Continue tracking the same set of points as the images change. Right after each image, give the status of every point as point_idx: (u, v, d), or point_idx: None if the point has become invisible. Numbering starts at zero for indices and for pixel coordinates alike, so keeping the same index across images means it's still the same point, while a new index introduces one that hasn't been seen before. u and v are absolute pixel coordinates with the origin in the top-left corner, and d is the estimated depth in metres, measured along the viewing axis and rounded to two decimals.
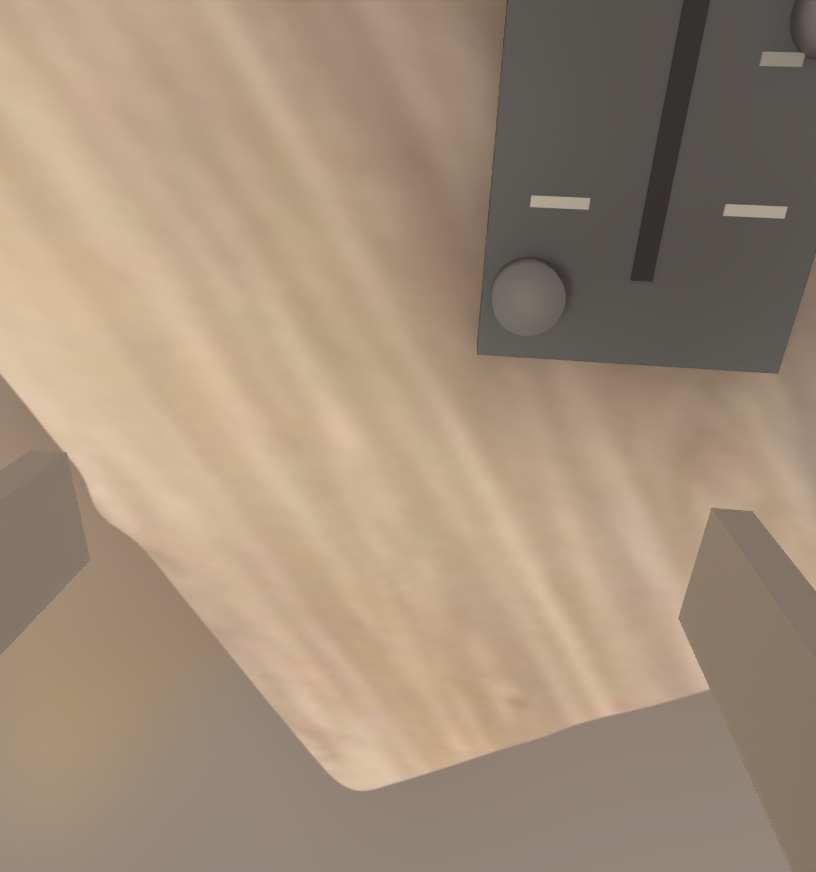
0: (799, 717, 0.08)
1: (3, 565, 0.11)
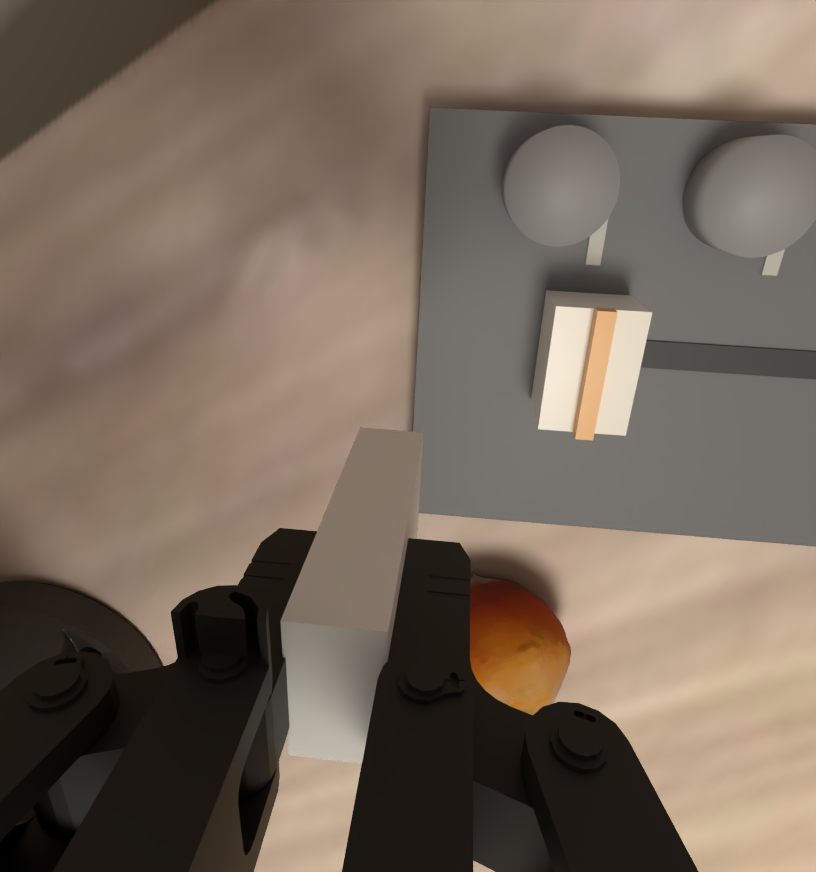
0: None
1: None
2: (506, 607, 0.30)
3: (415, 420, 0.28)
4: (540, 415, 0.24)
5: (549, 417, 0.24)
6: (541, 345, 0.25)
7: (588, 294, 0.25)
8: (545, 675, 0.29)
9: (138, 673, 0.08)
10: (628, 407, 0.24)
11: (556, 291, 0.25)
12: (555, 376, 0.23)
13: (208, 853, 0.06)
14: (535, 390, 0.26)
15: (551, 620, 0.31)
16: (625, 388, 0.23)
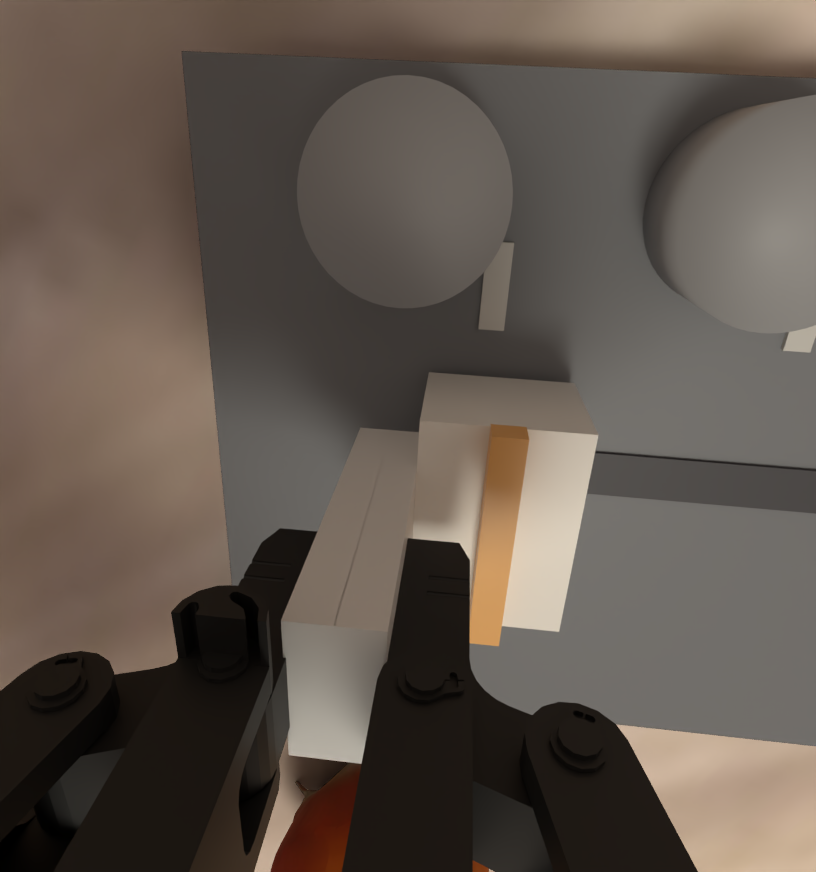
0: None
1: None
2: None
3: (232, 559, 0.18)
4: None
5: None
6: None
7: (498, 382, 0.14)
8: None
9: (138, 673, 0.08)
10: (561, 588, 0.13)
11: (444, 375, 0.14)
12: (429, 536, 0.13)
13: (208, 853, 0.06)
14: None
15: None
16: (554, 559, 0.13)
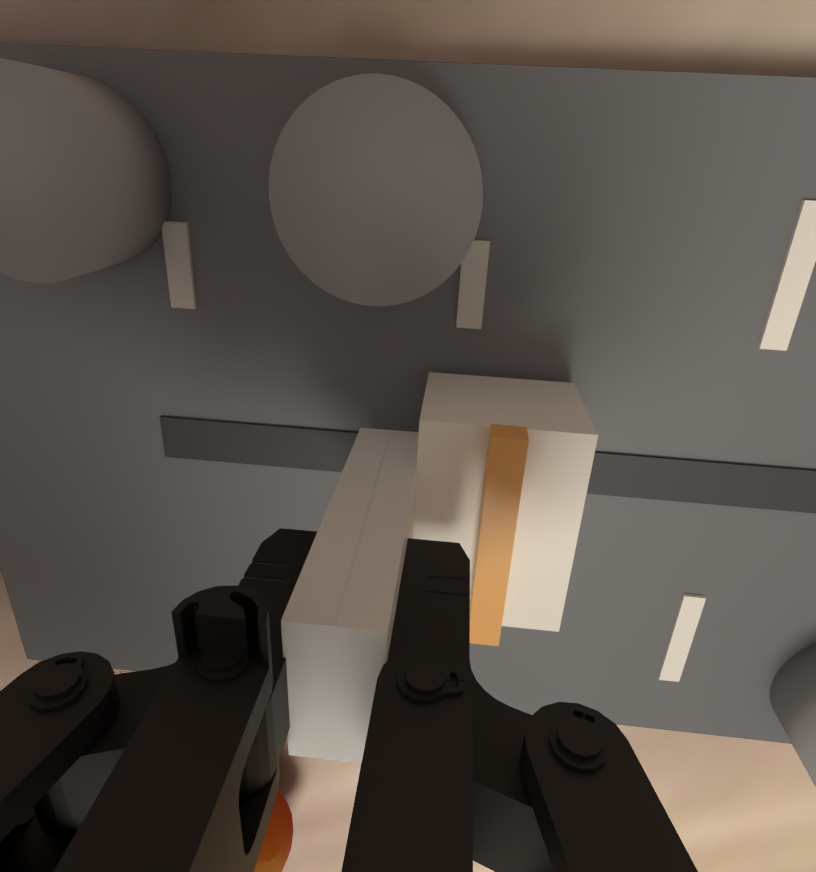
0: None
1: None
2: None
3: None
4: None
5: None
6: None
7: (498, 381, 0.14)
8: None
9: (139, 673, 0.08)
10: (561, 588, 0.13)
11: (444, 375, 0.14)
12: (429, 536, 0.13)
13: (208, 853, 0.06)
14: None
15: None
16: (554, 559, 0.13)
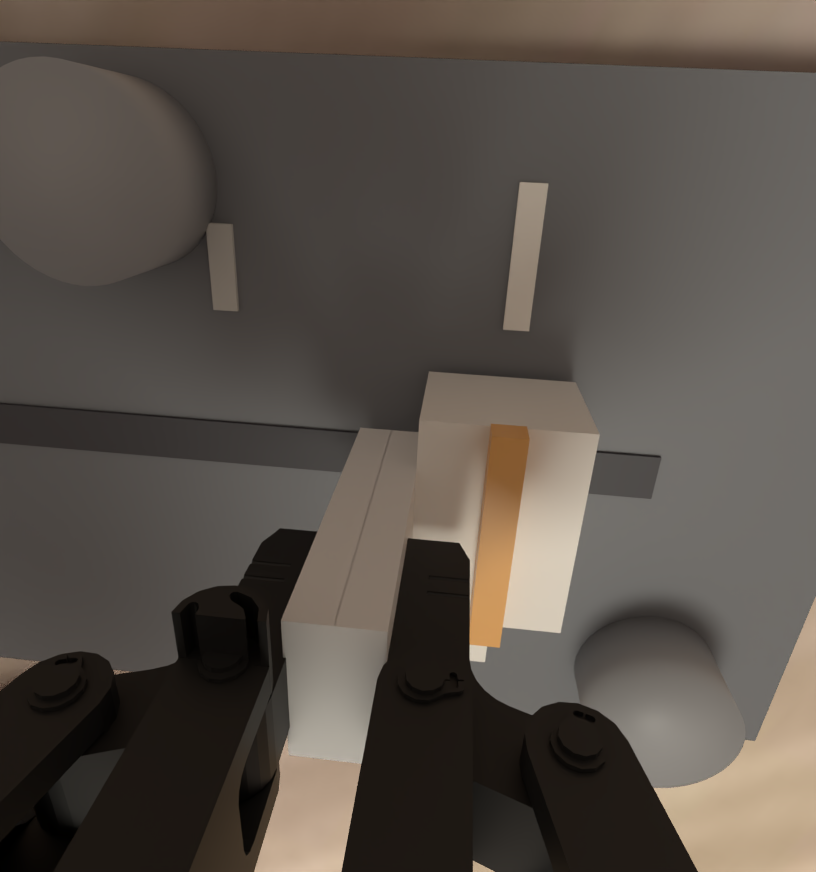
0: None
1: None
2: None
3: None
4: None
5: None
6: None
7: (498, 381, 0.14)
8: None
9: (138, 673, 0.08)
10: (562, 589, 0.13)
11: (444, 374, 0.14)
12: (429, 537, 0.13)
13: (209, 853, 0.06)
14: None
15: None
16: (555, 560, 0.13)
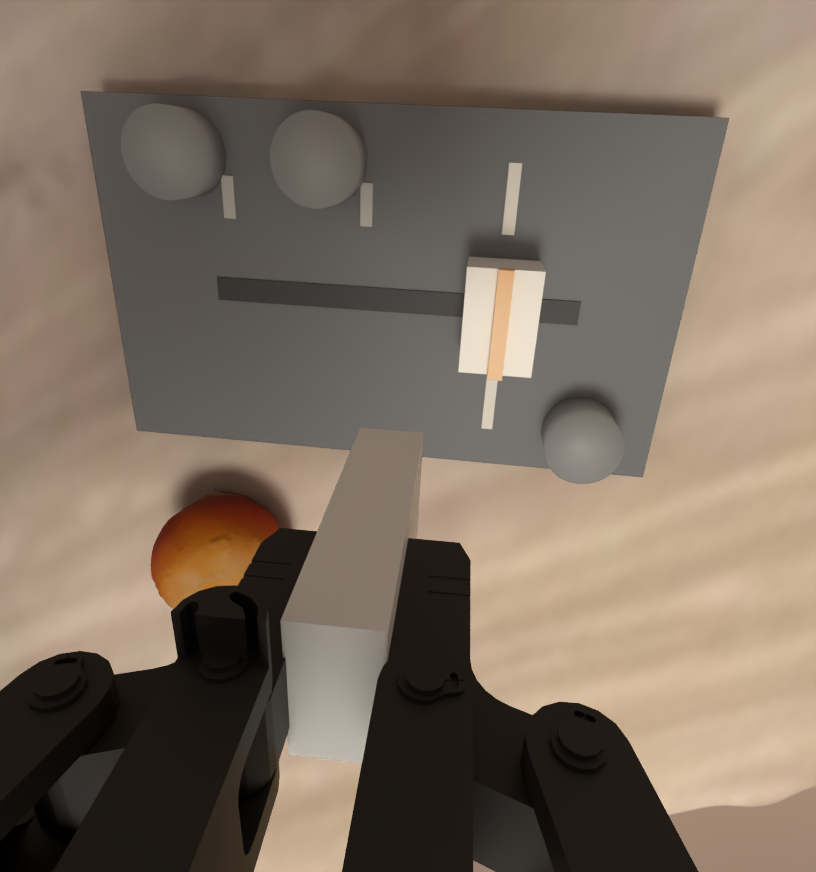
0: None
1: None
2: (216, 510, 0.37)
3: (125, 350, 0.34)
4: (459, 360, 0.29)
5: (467, 362, 0.29)
6: None
7: (502, 259, 0.29)
8: (236, 564, 0.35)
9: (138, 673, 0.08)
10: (531, 353, 0.28)
11: (476, 257, 0.30)
12: (470, 326, 0.28)
13: (208, 853, 0.06)
14: None
15: (257, 523, 0.37)
16: (528, 337, 0.28)
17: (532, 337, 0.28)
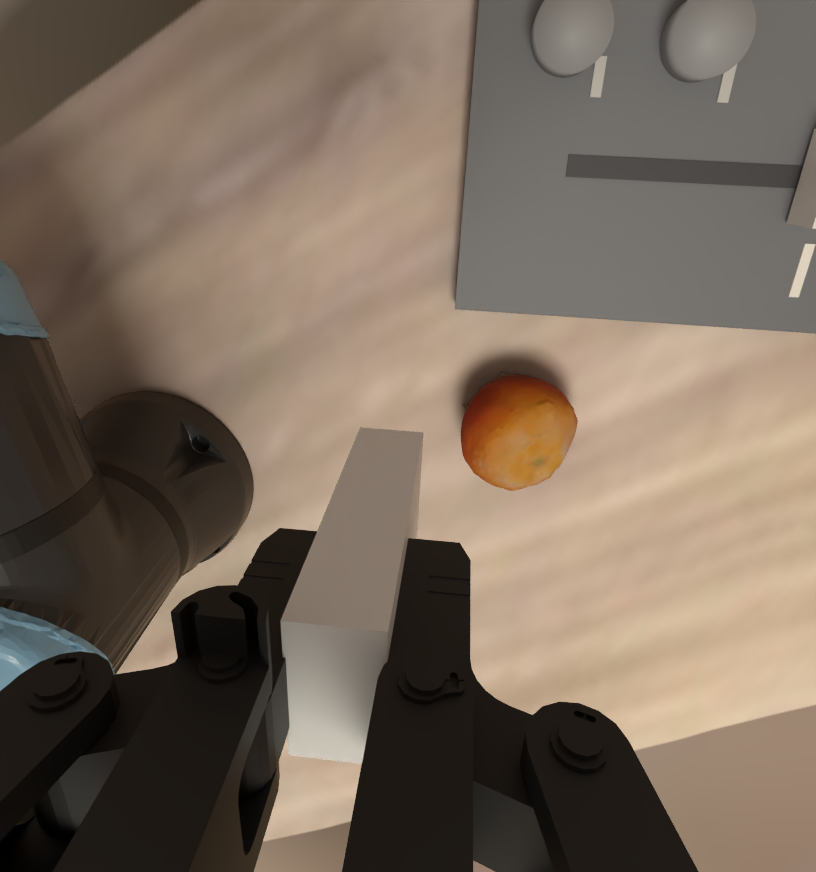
0: None
1: None
2: (528, 381, 0.40)
3: (462, 229, 0.38)
4: None
5: None
6: (809, 170, 0.34)
7: None
8: (557, 426, 0.39)
9: (138, 673, 0.08)
10: None
11: None
12: None
13: (208, 853, 0.06)
14: (798, 208, 0.35)
15: (562, 394, 0.40)
16: None
17: None
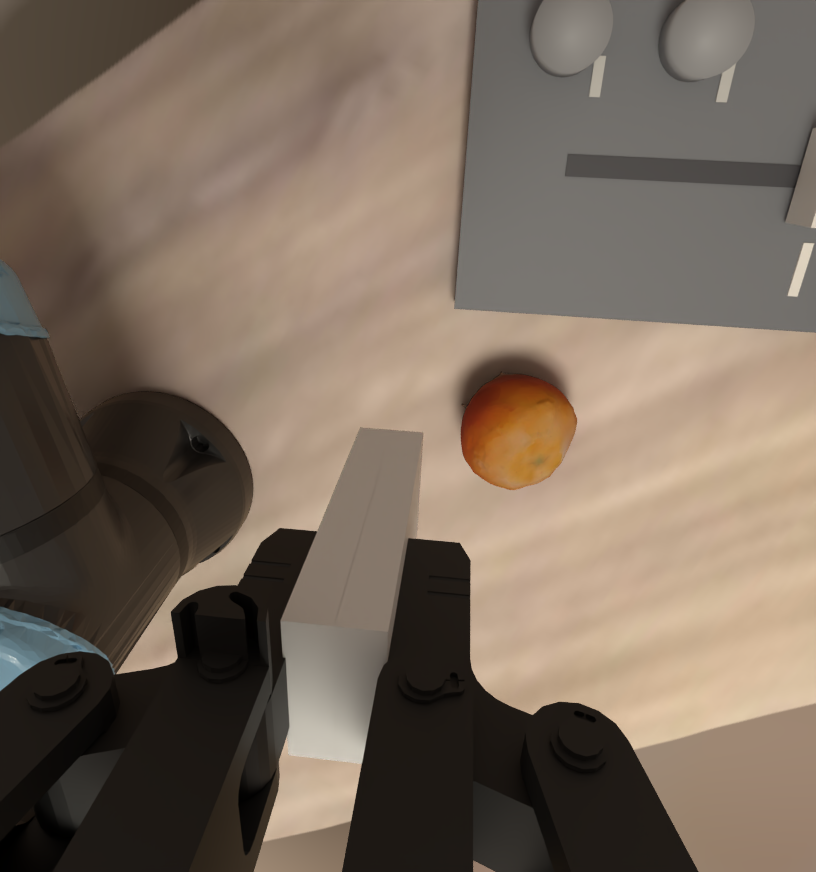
0: None
1: None
2: (528, 381, 0.40)
3: (461, 229, 0.38)
4: (814, 216, 0.33)
5: None
6: (808, 169, 0.34)
7: None
8: (557, 425, 0.39)
9: (138, 673, 0.08)
10: None
11: None
12: None
13: (208, 853, 0.06)
14: (797, 207, 0.35)
15: (562, 393, 0.40)
16: None
17: None
